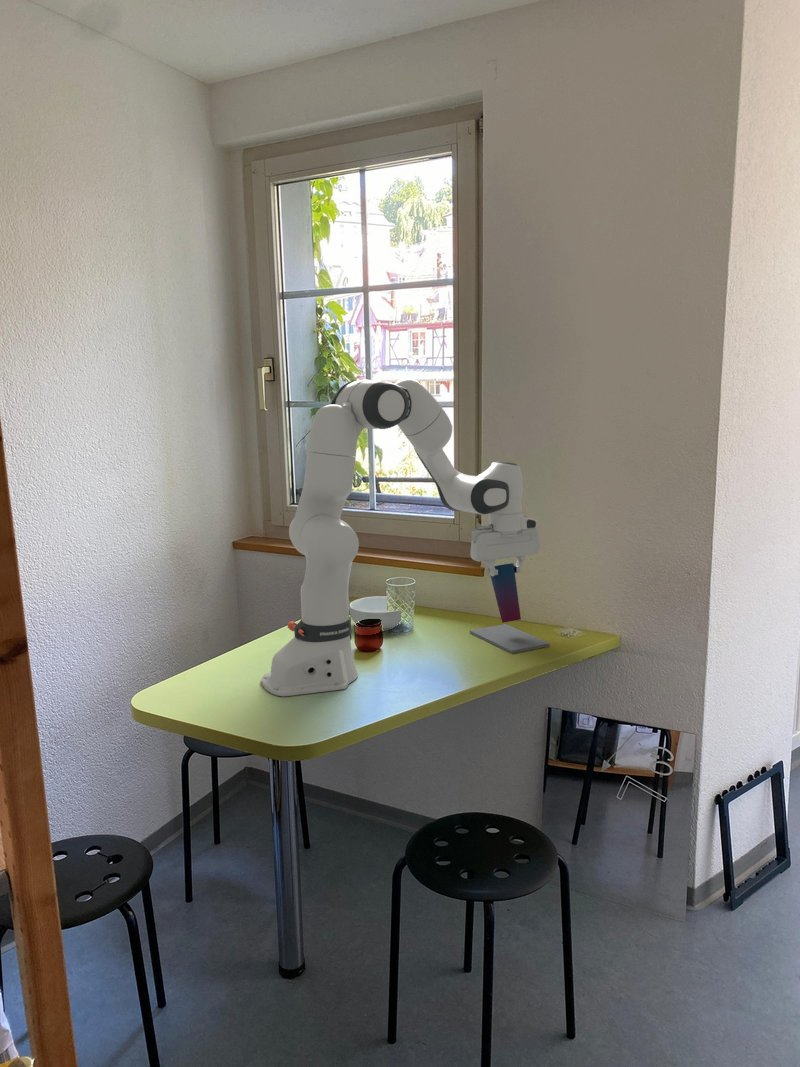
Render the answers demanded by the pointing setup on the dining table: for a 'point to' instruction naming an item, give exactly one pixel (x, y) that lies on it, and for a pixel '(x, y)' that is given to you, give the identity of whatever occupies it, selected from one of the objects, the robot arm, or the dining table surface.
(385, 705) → the dining table surface
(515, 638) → the mat
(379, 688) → the dining table surface
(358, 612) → the cereal bowl
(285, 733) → the dining table surface
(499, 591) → the cup
